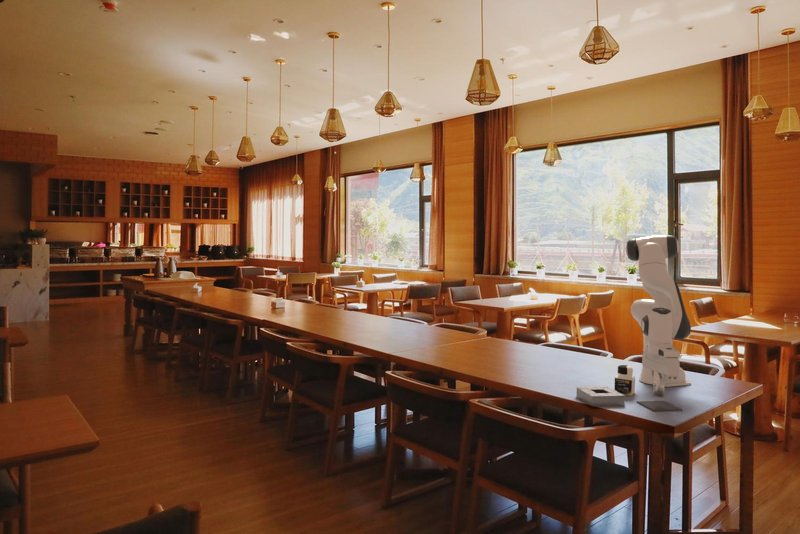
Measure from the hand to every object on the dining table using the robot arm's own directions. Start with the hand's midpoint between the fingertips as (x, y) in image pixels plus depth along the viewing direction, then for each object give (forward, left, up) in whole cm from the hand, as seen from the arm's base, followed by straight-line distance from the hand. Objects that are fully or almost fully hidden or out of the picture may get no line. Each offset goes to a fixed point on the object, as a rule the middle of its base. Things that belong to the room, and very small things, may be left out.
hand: (659, 383), depth 222 cm
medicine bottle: (+3, -21, -10) cm, 23 cm away
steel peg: (0, 0, -5) cm, 5 cm away
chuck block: (+20, -10, -10) cm, 24 cm away
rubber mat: (0, 0, -10) cm, 10 cm away
